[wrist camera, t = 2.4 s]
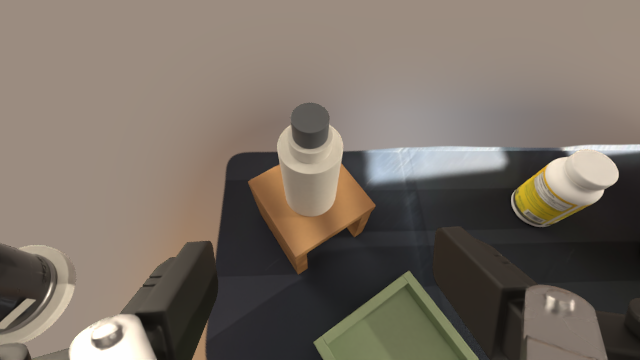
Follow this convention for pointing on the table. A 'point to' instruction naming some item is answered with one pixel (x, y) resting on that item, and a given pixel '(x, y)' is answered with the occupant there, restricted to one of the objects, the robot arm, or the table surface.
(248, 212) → the table surface
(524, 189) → the pill bottle
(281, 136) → the white bottle
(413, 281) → the sage green tray
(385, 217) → the table surface
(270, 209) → the wooden stand
